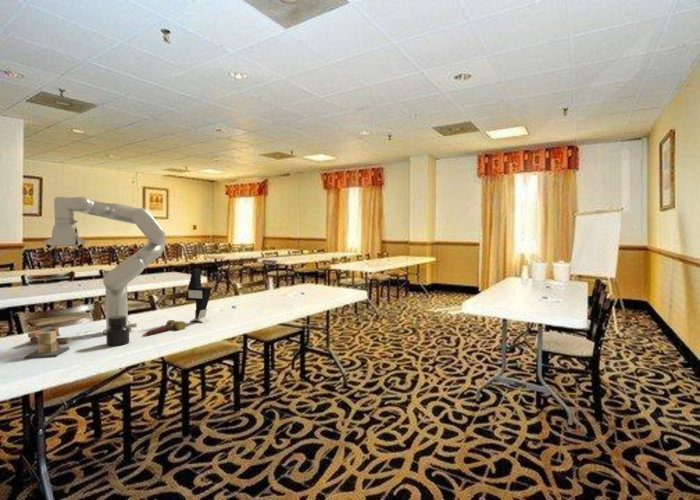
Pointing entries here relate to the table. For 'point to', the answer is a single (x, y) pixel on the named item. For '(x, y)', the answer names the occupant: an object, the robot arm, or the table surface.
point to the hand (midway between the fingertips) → (65, 258)
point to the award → (198, 296)
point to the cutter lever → (35, 333)
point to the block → (47, 341)
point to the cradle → (62, 341)
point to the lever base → (35, 339)
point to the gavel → (167, 327)
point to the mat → (43, 355)
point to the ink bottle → (117, 331)
